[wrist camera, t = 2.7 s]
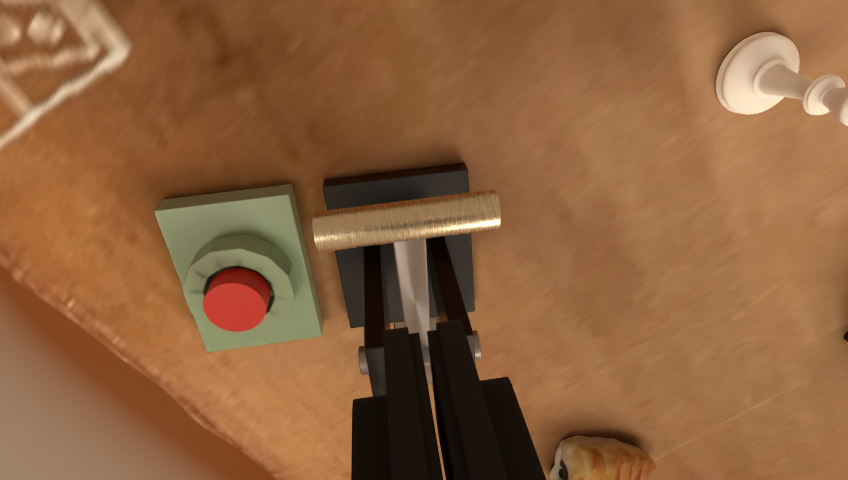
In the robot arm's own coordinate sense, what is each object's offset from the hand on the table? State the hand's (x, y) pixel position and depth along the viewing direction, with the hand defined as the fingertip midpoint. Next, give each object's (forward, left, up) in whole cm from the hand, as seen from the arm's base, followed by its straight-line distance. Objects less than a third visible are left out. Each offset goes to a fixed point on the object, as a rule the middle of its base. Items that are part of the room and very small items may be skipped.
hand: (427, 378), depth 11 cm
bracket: (+10, 0, -23) cm, 25 cm away
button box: (+10, -10, -23) cm, 27 cm away
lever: (+4, 0, -11) cm, 12 cm away
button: (+10, -10, -20) cm, 24 cm away
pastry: (+35, +15, -23) cm, 44 cm away
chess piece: (+1, +23, -23) cm, 33 cm away
